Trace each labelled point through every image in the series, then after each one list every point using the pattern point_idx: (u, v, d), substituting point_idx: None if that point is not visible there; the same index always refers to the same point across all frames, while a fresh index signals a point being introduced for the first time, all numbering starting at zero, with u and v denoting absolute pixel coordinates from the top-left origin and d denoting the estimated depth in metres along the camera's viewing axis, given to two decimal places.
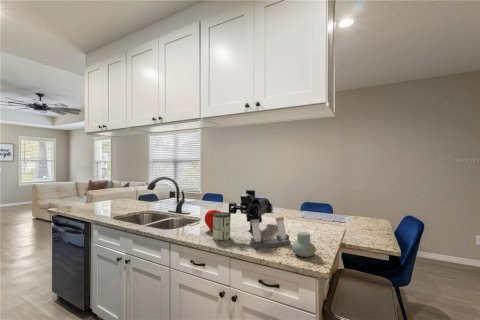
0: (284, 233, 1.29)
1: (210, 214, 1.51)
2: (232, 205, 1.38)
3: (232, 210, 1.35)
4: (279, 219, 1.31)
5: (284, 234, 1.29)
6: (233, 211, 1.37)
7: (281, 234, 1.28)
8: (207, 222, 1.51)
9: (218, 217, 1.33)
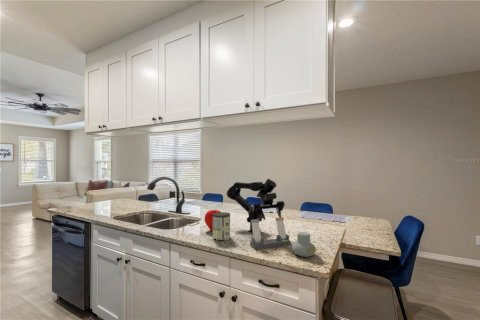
0: (284, 233, 1.29)
1: (210, 214, 1.51)
2: (260, 209, 1.35)
3: None
4: (279, 219, 1.31)
5: (284, 234, 1.29)
6: None
7: (281, 234, 1.28)
8: (207, 222, 1.51)
9: (217, 217, 1.34)
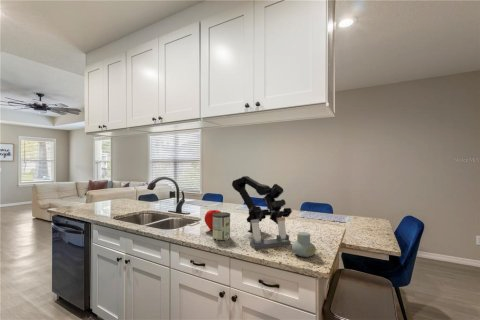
0: (284, 233, 1.29)
1: (210, 214, 1.51)
2: (276, 215, 1.33)
3: None
4: (280, 219, 1.29)
5: (284, 234, 1.29)
6: None
7: (281, 234, 1.28)
8: (207, 222, 1.51)
9: (218, 217, 1.33)
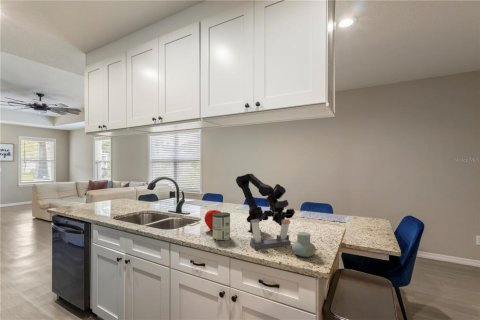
0: (285, 235, 1.28)
1: (210, 214, 1.51)
2: (278, 216, 1.30)
3: None
4: (285, 223, 1.25)
5: (285, 235, 1.28)
6: None
7: (282, 235, 1.27)
8: (207, 222, 1.51)
9: (218, 217, 1.34)
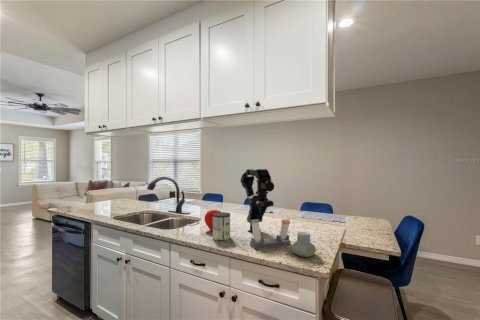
0: (285, 235, 1.28)
1: (210, 214, 1.51)
2: (257, 206, 1.43)
3: None
4: (285, 223, 1.25)
5: (285, 235, 1.28)
6: None
7: (282, 235, 1.27)
8: (207, 222, 1.51)
9: (218, 217, 1.34)
